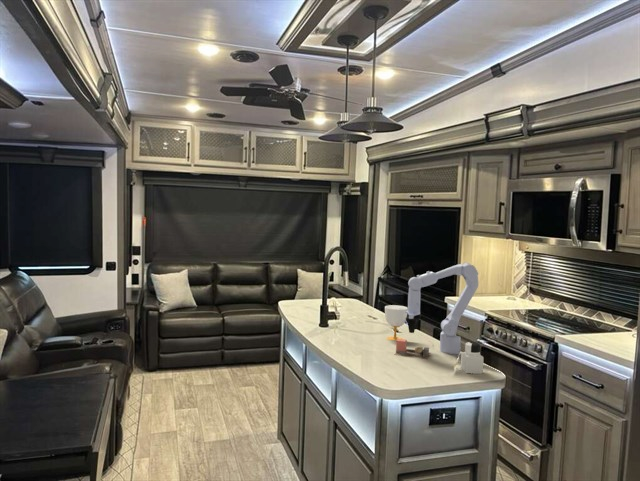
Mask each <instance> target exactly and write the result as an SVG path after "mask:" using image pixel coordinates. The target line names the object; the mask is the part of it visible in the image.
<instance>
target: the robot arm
mask: <svg viewBox="0 0 640 481" xmlns="http://www.w3.org/2000/svg"><path fill="white" fill-rule="evenodd" d="M453 275H456V276H460V277H461V276H462V277H463V279H464V282H465V286H464V288H463V289H462V291H461V293H460V296H459V297H458V299H457V301H456V302H455V305H454V306H453V308H452V309H451V311H450V313H449V314H447V315H446V318H445V319H443V320H442V321H441V322H440V329H441V332H440V338H439V351H440V353H444V354H451V355H452V354H453V355H456V357H457V358H458V357H460V356H461V350H462V348H461V342H462V341H461V336H459V335H457V332H458V326H459V324H460V320H461V317H462V316H463V314H464V313H465V311H466V310H467V307H468V305H469V304H470V302H471V300H472V298H473V297H474V295H475V293H476V291H477V289H479V272H478V270H477V267H475V266H474V265H473V264H470V263H469V262H462V263H459V264H456V265H452V266H450V267H447V268H445V269H442V270H439V271H437V272H433V271H430V270H428V271H426V273H423V274H417V275H416V276H413V277H410V278H409V280H408V282H407V284H408V294H407V308H408V310H407V311H405V313H407V317H406V321H405V322H406V324H407V327H408V332H409V334H414V333H415V331H416V330H417V329H418V325H419V321H420V319H421V316H422V314H421V297H422V296H421V295H422V294H421V289H422V288H424V287H428V286H431V285H434V284H436V283H437V282H438V280H440V279H443V278H446V277H447V278H448V277H451V276H453Z"/></svg>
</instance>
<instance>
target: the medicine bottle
mask: <svg viewBox="0 0 640 481" xmlns="http://www.w3.org/2000/svg"><path fill="white" fill-rule="evenodd" d="M460 358H461V359H460V369H461V370H462V371H463V372H464V373H465V374H467V373H471V374H472V373H473V374H474V375H475V374H476V375H478V374H479V375H483V374H484V356H483V355H481V344H480V343H478V342H475V341H467V342H465V344H464V351H462V352H460ZM471 374H470V375H471ZM473 374H472V375H473Z"/></svg>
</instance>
